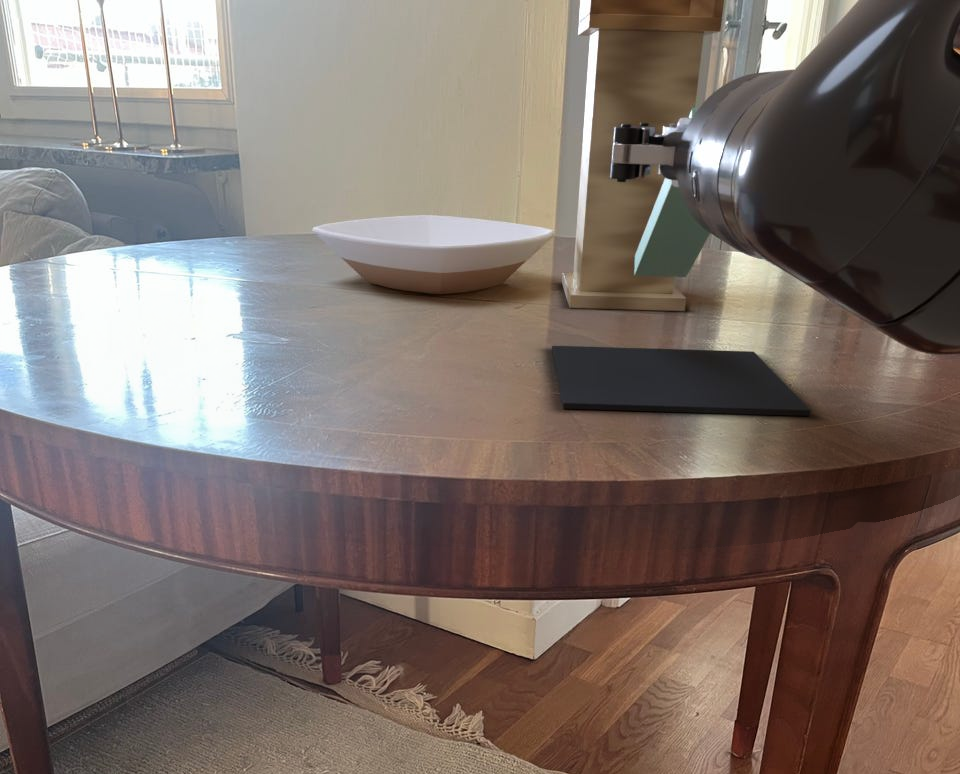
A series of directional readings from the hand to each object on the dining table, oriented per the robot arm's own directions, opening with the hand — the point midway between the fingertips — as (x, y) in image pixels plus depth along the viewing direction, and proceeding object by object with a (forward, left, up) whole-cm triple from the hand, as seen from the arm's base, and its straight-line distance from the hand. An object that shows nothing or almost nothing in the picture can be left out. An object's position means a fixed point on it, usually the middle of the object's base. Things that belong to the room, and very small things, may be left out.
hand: (705, 148), depth 58 cm
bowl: (+19, -40, -15) cm, 47 cm away
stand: (0, -35, -15) cm, 38 cm away
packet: (0, -3, -4) cm, 5 cm away
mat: (0, -3, -15) cm, 15 cm away
